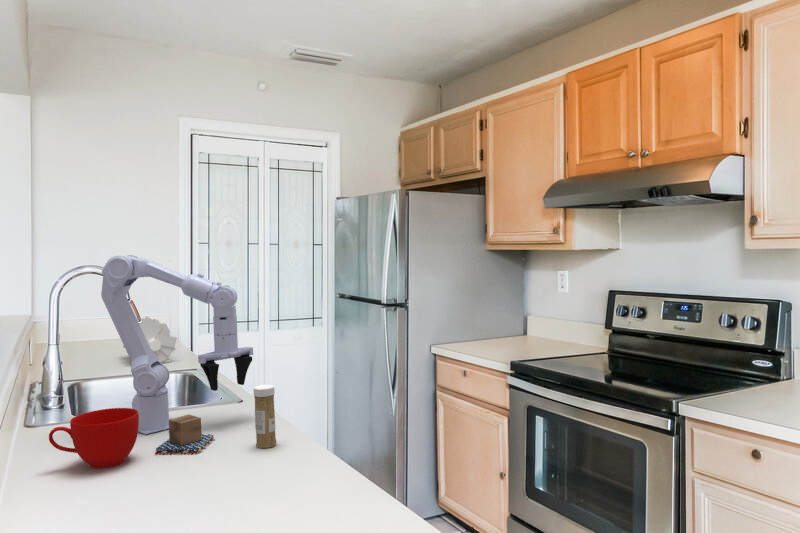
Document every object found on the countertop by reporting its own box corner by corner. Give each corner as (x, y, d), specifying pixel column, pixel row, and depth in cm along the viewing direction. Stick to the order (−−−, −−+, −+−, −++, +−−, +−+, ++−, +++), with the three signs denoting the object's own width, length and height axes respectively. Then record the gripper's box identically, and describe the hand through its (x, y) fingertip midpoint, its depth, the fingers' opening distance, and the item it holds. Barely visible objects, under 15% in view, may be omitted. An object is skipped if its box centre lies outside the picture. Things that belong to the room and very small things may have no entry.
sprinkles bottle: (279, 446, 134) (277, 386, 134) (259, 450, 131) (257, 389, 131) (271, 440, 138) (269, 382, 137) (252, 445, 135) (250, 385, 135)
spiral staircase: (144, 377, 234) (132, 364, 255) (186, 353, 242) (171, 342, 263) (121, 337, 228) (110, 327, 249) (164, 314, 236) (151, 306, 257)
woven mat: (152, 458, 130) (151, 448, 130) (173, 442, 141) (172, 433, 141) (199, 457, 130) (198, 448, 130) (216, 441, 140) (216, 433, 140)
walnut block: (169, 441, 135) (168, 419, 135) (189, 435, 139) (188, 414, 139) (181, 445, 132) (180, 423, 132) (201, 439, 136) (200, 417, 135)
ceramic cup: (54, 461, 128) (52, 415, 128) (140, 448, 135) (138, 404, 135) (45, 482, 116) (43, 431, 116) (140, 467, 123) (138, 419, 123)
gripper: (207, 339, 144) (209, 395, 144) (259, 331, 154) (261, 383, 155) (193, 336, 149) (195, 391, 149) (243, 329, 159) (245, 380, 160)
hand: (227, 387), depth 152 cm, fingers open, 7 cm apart
